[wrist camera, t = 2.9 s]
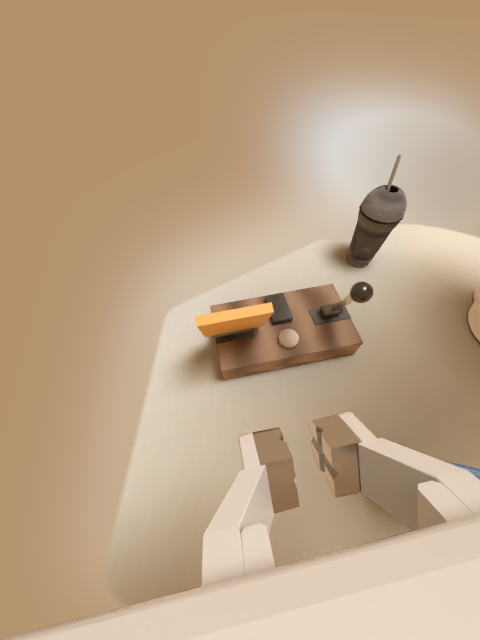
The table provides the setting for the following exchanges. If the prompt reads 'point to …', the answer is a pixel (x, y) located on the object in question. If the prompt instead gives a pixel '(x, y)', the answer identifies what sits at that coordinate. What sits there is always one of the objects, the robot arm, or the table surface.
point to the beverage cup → (376, 221)
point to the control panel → (287, 333)
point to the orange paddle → (234, 320)
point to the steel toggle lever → (349, 299)
